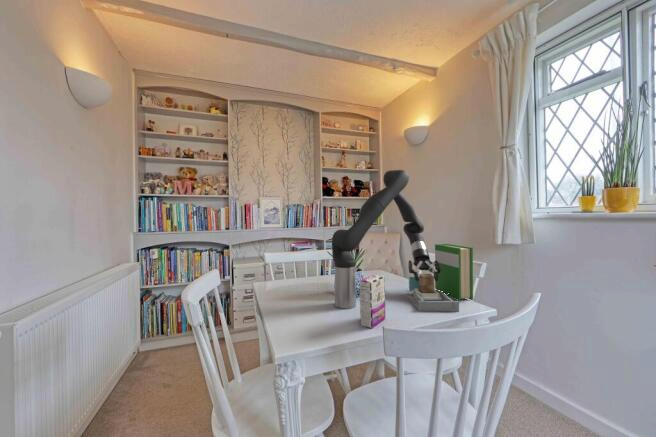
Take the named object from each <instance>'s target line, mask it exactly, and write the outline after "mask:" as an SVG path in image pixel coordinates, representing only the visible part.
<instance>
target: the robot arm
mask: <svg viewBox="0 0 656 437" xmlns="http://www.w3.org/2000/svg"><path fill="white" fill-rule="evenodd" d="M382 180H383V184H384V185H385V187H384V188H382V189H381V190H378V191H376V192H375V193H373V194H372V195H371V196H369V197H368V199H366V200H365V202H364V203H362V205H361V208H360V210H359V213H358V218H357V219H356V220H355V222H354V224H352V225H351V226H350V227H349V228H348V229H337V230H336V231H334V233H333V235H332V237H331V253H332V254H331V255H332V260H333V263H334V308H338V309H339V308H340V309H346V310H347V309H352V308H353V309H354V308H355V307H356V306H357V284H356V283H357V282H356V280H357V279H356V278H357V276H356V275H357V273H356V269H357V268H356V260H355V258H354V257H353V256H352V253H351V252H352V251H355V250H356V249H357V247H359V245H360V244H361V242H362V240H363V238H365V235H366V234H367V232H368V231H369V230H370V229H371V227H372V226H373V224H374V223H375V222H376V221H377V220H378V219H379V217H380V216H381V215H382V214H383V213H384V211H385V210H386V209H387V207H388V206H389V205H390V204H391V203H392V202H393V201H394V202H395V204H396V206H397V207H398V210H399V213H400V216H401V218H402V220H403V221H404V223H405V224H404V225H403V232H404V234H405V235H406V237H407V238H408V241H409V243H410V248H411V255H412V258H413V261H412V260H408V263H407V267H408V273H409V274H413V277H414V278H415V280H416V281H419V271H428V272H430V273H431V274H433V275H432V276H434V282H435V281H437V280H438V279H439V277H438V274H439V273H440V271H441V269H440V267H439V264H438V261H437V260H435V259H434V261H432V260H431V258H430V254H429V252H428V247H427V245H426V243H425V239H424V236H423V235H422V234H421V233H423V232H424V230H425V227H424V226H425V225H424V224H423V222H422V221H421V220H420V219H419V218H418V215H417V214H416V211H415V210H414V209H415V208H414V207H413V204H412V203H411V201H410V200H409V198H406V196H405V195H404V194H403V193H402V191H403V190H404V189H405V188H406V187H407V185H408V184H409V180H410V176H409V173H408V172H407V171H406V170H403V169H393V170H387V171H386V172H384V175H383V179H382ZM413 266H415V268H414V269H413ZM437 273H438V274H437Z"/></svg>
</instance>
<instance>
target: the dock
mask: <svg viewBox="0 0 656 437" xmlns="http://www.w3.org/2000/svg"><path fill="white" fill-rule="evenodd" d="M438 293H439V294H440V297H441V298H442V300H423V299H422V298H421V297H420V296H419V295H418V294H417V292H416V291H413V292H412V295H408V299H409V300H410V302H411V301H412V302H413V303H412V302H411V303H412V305H414V307H415V306H416V307H415V308H416V309H417V310H418V312H460V301H459V300H455V301H454V299H453V298H452V297H449V296H447V295H445V294H444V293H443V292H441V291H439V292H438Z"/></svg>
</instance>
